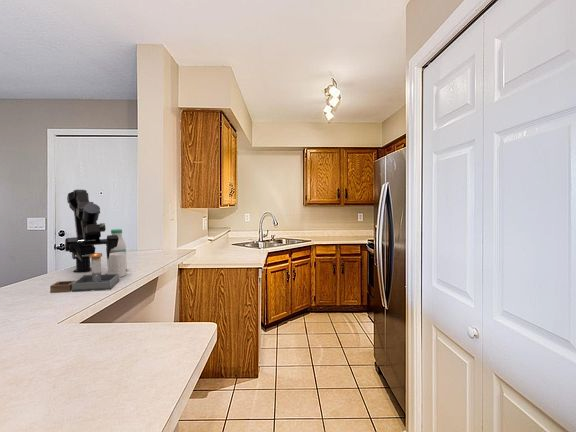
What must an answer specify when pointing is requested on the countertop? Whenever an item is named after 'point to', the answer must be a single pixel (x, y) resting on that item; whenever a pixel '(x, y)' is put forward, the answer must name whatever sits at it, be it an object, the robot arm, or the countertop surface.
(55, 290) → the socket block
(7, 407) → the countertop surface
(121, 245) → the milk bottle
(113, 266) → the white cup
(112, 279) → the tray
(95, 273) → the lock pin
